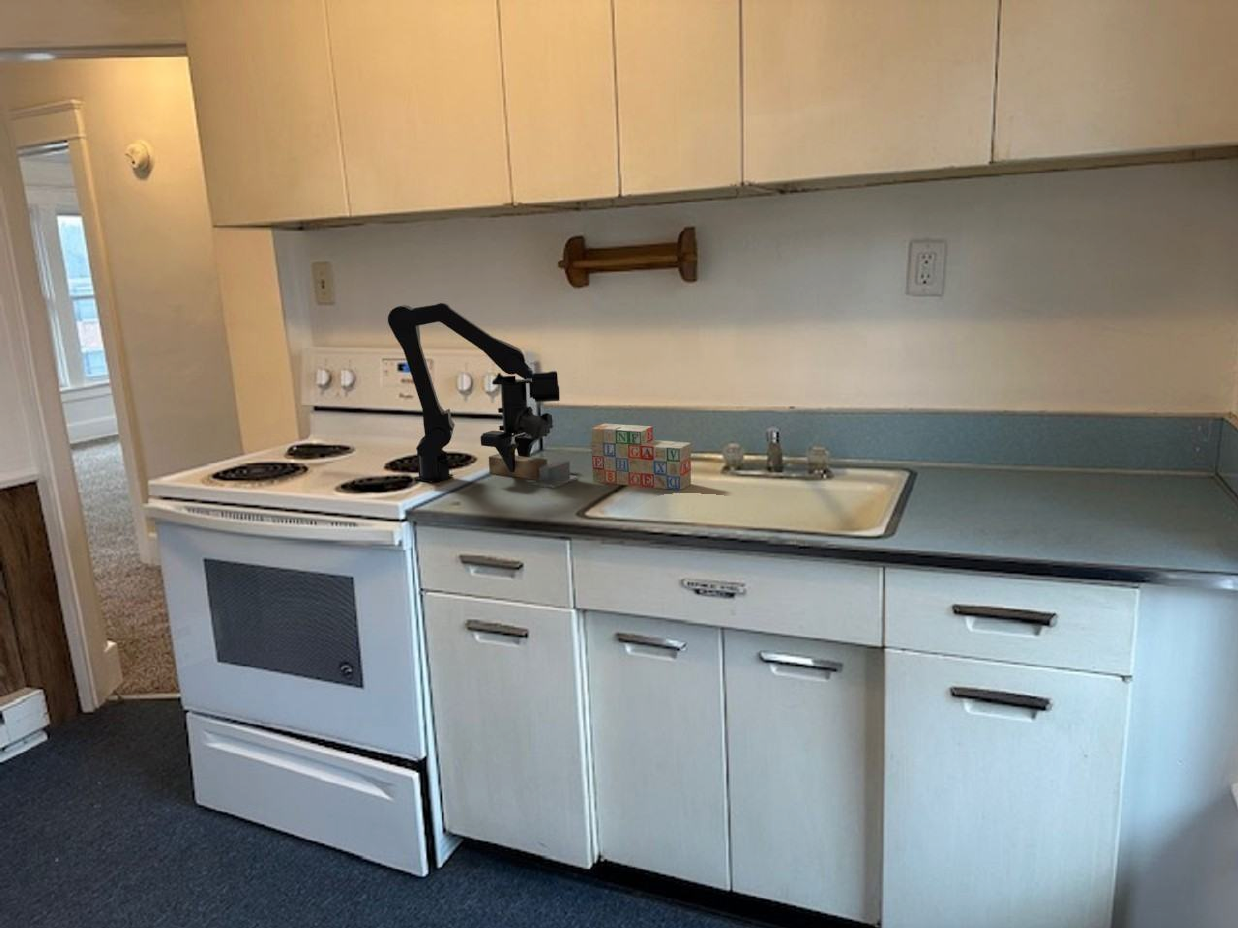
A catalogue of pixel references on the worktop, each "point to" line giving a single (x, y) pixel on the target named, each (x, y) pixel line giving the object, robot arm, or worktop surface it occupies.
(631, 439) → the stack of blocks
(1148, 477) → the worktop surface
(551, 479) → the ridge
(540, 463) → the bar
